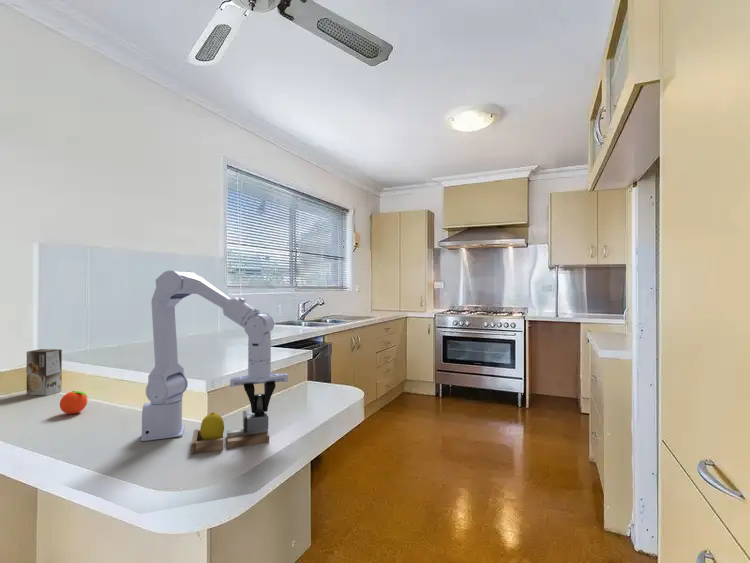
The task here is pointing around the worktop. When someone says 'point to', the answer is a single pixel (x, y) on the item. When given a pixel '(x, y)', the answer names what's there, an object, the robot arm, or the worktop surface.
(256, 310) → the robot arm
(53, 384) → the coffee box
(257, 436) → the press bed
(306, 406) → the worktop surface
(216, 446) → the lemon cradle
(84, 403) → the clementine
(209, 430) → the lemon
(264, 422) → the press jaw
